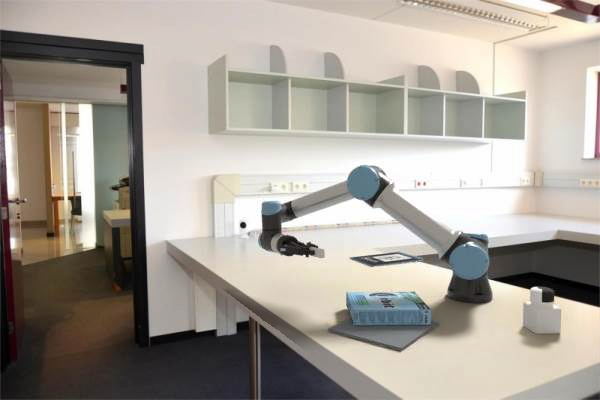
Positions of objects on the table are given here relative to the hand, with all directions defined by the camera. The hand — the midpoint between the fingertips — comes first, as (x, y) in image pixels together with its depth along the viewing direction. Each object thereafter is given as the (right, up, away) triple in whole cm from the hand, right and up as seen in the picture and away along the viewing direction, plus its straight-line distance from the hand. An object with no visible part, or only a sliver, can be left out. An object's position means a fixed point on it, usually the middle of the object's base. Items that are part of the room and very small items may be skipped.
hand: (322, 253), depth 146 cm
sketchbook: (+36, -13, +81) cm, 90 cm away
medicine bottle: (+62, -20, -17) cm, 67 cm away
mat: (+17, -20, -14) cm, 30 cm away
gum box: (+8, -16, -5) cm, 19 cm away
